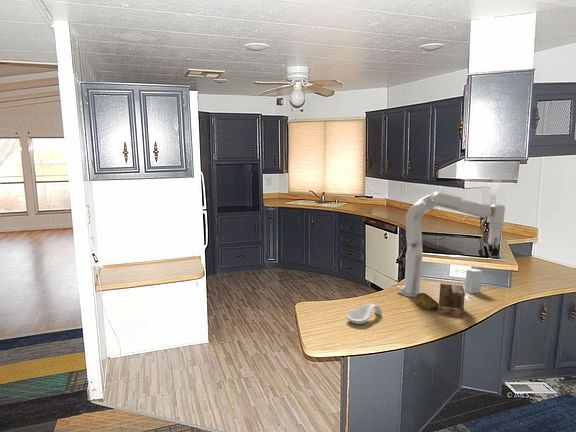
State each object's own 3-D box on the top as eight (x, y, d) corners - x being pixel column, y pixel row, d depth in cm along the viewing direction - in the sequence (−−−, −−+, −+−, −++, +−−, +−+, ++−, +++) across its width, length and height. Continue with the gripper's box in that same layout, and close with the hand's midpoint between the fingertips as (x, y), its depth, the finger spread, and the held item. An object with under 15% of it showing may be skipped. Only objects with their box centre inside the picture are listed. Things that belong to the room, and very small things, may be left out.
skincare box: (471, 293, 271) (473, 271, 269) (464, 290, 277) (466, 269, 275) (480, 292, 275) (483, 270, 272) (473, 289, 280) (475, 268, 278)
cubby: (439, 313, 237) (441, 290, 235) (438, 305, 251) (440, 283, 248) (462, 316, 233) (464, 293, 231) (460, 307, 247) (462, 285, 245)
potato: (430, 312, 238) (431, 299, 237) (413, 305, 249) (414, 292, 248) (440, 310, 242) (441, 297, 241) (423, 303, 253) (424, 290, 252)
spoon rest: (359, 329, 215) (359, 315, 214) (342, 321, 224) (342, 308, 223) (386, 317, 231) (387, 305, 229) (369, 311, 239) (370, 299, 238)
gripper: (486, 222, 256) (483, 250, 259) (491, 227, 240) (488, 256, 243) (500, 223, 254) (497, 251, 257) (505, 228, 238) (502, 257, 241)
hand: (493, 253), depth 250 cm, fingers open, 9 cm apart
